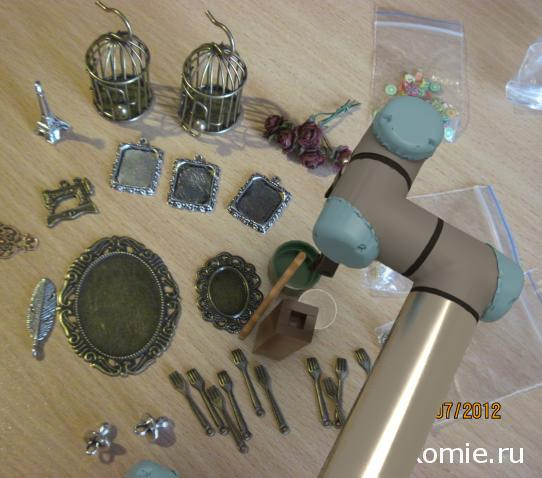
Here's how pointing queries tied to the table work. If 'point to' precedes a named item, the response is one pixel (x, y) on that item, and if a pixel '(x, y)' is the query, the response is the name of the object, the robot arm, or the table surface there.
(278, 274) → the bowl
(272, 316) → the stand
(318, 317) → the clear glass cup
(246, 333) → the stick
